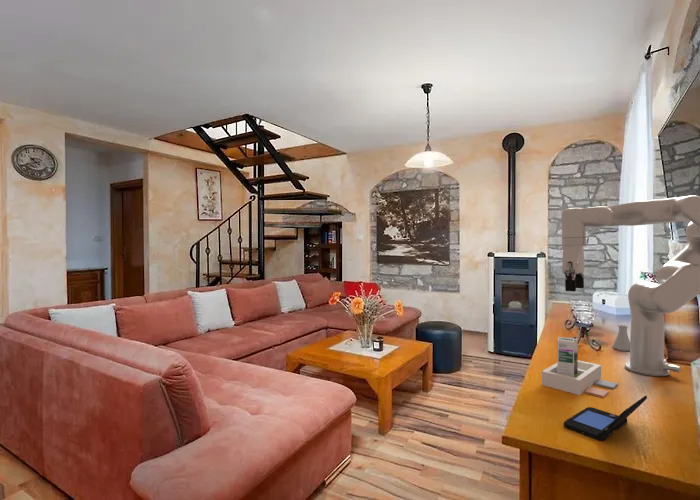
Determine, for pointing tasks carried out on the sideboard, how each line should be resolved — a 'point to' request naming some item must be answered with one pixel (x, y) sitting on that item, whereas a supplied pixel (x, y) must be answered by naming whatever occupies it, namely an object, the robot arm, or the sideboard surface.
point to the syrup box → (567, 357)
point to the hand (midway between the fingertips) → (574, 289)
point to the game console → (599, 421)
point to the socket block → (578, 380)
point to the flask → (622, 339)
